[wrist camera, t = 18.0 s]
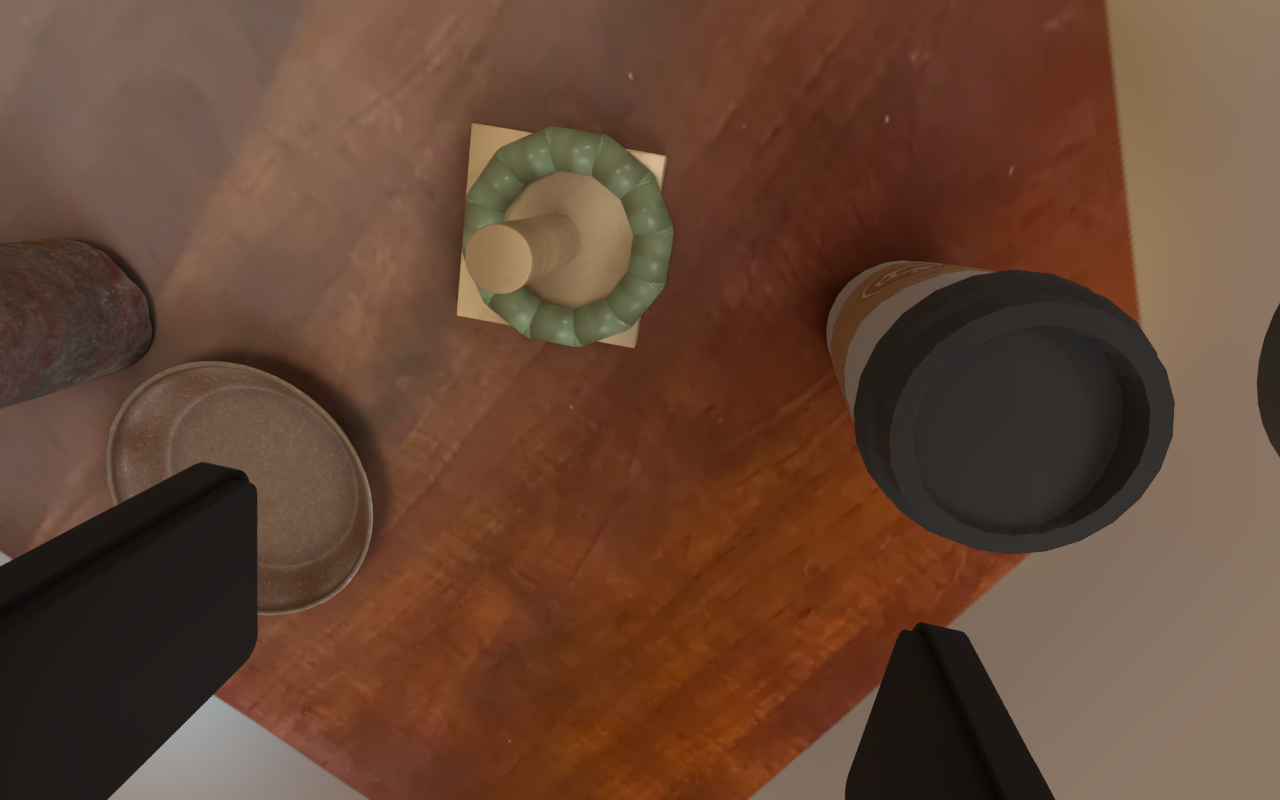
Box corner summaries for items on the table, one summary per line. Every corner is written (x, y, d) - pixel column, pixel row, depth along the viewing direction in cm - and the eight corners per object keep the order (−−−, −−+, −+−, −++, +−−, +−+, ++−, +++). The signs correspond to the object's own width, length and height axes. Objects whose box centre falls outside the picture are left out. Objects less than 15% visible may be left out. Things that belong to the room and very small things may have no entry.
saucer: (382, 357, 36) (356, 371, 33) (402, 599, 41) (381, 628, 38) (122, 342, 37) (78, 354, 35) (170, 578, 42) (134, 604, 39)
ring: (689, 149, 30) (687, 146, 29) (654, 355, 33) (651, 365, 32) (479, 114, 31) (466, 110, 29) (463, 321, 34) (450, 328, 32)
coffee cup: (968, 214, 31) (1184, 239, 17) (997, 385, 33) (1209, 537, 19) (785, 266, 32) (839, 329, 18) (824, 426, 35) (899, 595, 20)
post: (667, 156, 32) (646, 144, 22) (636, 344, 34) (606, 405, 25) (478, 124, 32) (378, 98, 22) (463, 311, 35) (368, 360, 25)
